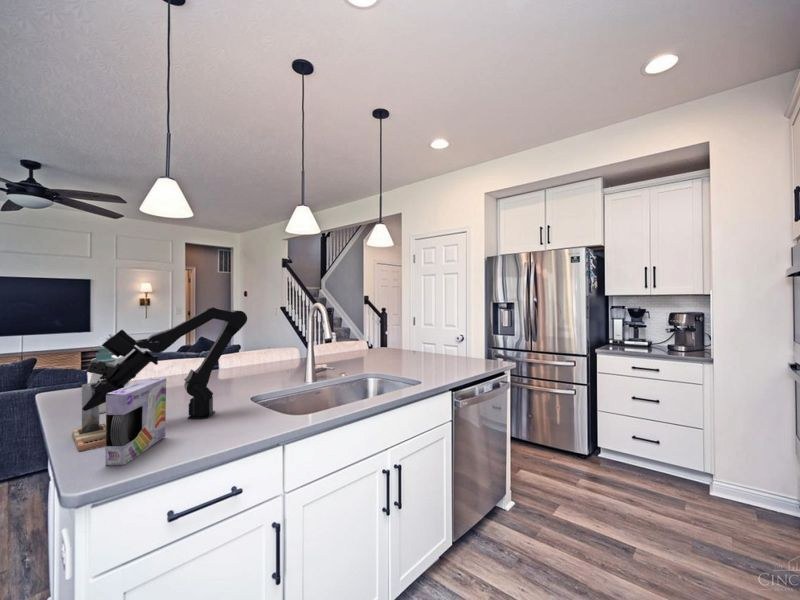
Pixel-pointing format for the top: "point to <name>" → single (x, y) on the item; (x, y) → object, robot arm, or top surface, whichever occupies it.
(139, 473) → the top surface
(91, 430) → the steel pin
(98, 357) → the soap bottle
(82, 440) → the socket rail
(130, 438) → the cake pan box
